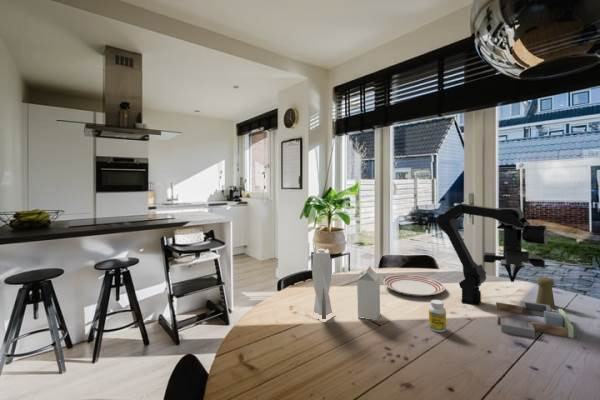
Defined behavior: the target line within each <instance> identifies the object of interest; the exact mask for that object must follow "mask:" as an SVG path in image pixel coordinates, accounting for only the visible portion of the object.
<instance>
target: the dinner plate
mask: <svg viewBox="0 0 600 400" xmlns="http://www.w3.org/2000/svg"><path fill="white" fill-rule="evenodd" d="M382 284H384V286H386V287H387V288H388V289H390V290H392V291H394V292H397V293H398V294H401V293H403V294H402V295H405V294H406V295H405V296H410V295H412V296H411V297H427V296H433V295H438V294H441V293H443V292H444V291H445V290H446V286H445V285H444V284H443V283H442V282H441V281H439V280H436V279H434V278H431V277H427V276H422V275H417V274H416V275H414V274H395V275H394V274H393V275H390V276H387V277H385V278H384V279H383V283H382Z"/></svg>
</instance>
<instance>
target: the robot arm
mask: <svg viewBox="0 0 600 400" xmlns="http://www.w3.org/2000/svg"><path fill="white" fill-rule="evenodd" d="M464 214H465V215H472V216H476V217H477V216H478V217H485V218H490V219H494V220H497V221H498V222H501V223H500V224H499V225H498V226H497V227H496V228H497V229H498V230H499V229H500V230H503V234H502V235H503V236H502V237H503V241H502V242H503V243H502V244H503V245H502V248H503V251H502V255H496V253H495V252H486V251H485V252H484V253H483V262H484V263H491V264H493V263H495V262H497V261H498V262H499V261H500V265H501V266H502V267H504V268H505V270H506V271H507V274H508V277H509V279H510V282H511V283H514V282H515V279H516V278H517V275H518V273H519V272H520V270H521V269H522V268H523V269H524V268H525V267H526V266H525V265H526V264H531V265H532V266H533V267H534V268H535V267H536V268H545V267H546V265H545V261H546V260H545V259H544V258H543V257H542V256H536V255H530V254H529V251H523V250H522V247H523V241H524V242H525V243H527V244H535V245H543V246H544V245H545V246H546V245H548V242H549V233H548V229H547V225H544V224H541V225H540V224H539V225H535V224H531V223H530V222H529V221H528V220H527V218H526V217H525V215H524V212H523V210H521V209H520V208H518V207H500V208H497V207H496V208H495V207H489V206H481V205H480V206H479V205H474V204H473V205H472V204H467V203H463V202H462V203H457V204H456V205H455V206H453V207H452V208H451V209H449V210H447V211H446V212H444V213H440V214H438V215H437V216H436V219H435V221H436V224H437V225H438V227H439V228H440V230H441V231H442V232H443V233H445V234H446V235H447V237H448V239H449V241H450V243H451V245H452V247H453V248H454V252H455V254H456V255H457V257H458V259H459V262H460V263H461V265H462V274H463V277H464V279H463V280H461V281H460V282H459V283H458V285H459V288H460V289H461V300H460V301H461V303H464V304H468V305H469V304H470V305H476V306H480V303H481V302H482V296H481V295H482V292H481V290H480V287H481V286H482V284H483V283H485V282H486V280H487V272H486V271H485V268H484V266H483V265H482V264H477V263H476V261H474V259H473V257H472V255H471V253H470V251H469V249H468V247H467V246H466V243H465V242H464V240H463V237H462V235H461V234H460V231H459V223H458V221H457V220H458V219H460V218H461V216H463V215H464ZM511 265H513V268H511V267H512V266H511Z"/></svg>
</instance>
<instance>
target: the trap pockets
mask: <svg viewBox="0 0 600 400" xmlns="http://www.w3.org/2000/svg"><path fill="white" fill-rule="evenodd" d="M519 304H520V305H519V306H522V309H523V310H522V314H523V315H531V316H535V317H536V316H537V317H542V318H544V311H548V310H552V308H550V306H549V305H546V304H539V303H536V302H530V301H522V300H520V303H519ZM523 306H525V308H526V309H524V307H523ZM524 310H525V312H523V311H524ZM553 311H554V310H552V311H551V312H553ZM524 313H526V314H524ZM500 317H501V325H500V330H501V333H506V334H510V335H512V334H513V335H517V336H522V337H527V338H533V339H534V338H536V337H535V334H536V331H535V330H534V327H533V324H532V323H528V328H527V326H519V325H514V324H510V323H509V324H508V323H506V320H505V319H504V317H505V316H500ZM502 317H503V318H502ZM527 321H528V322H529V320H527Z"/></svg>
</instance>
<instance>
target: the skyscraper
mask: <svg viewBox="0 0 600 400" xmlns="http://www.w3.org/2000/svg"><path fill="white" fill-rule="evenodd" d="M312 255H313V256H312V267H311V268H312V269H311V270H312V271H311V273H312V284H313V289H314V292H315V293H314V294H315V300H314V308H313V309H314V310H313V313H314V312H315V313H318V314H319V315H322V319H326V315H328V314H330V313H332V314H333V309H332V304H331V298H330V289H331V283H332V274H333V272H332V268H333V267H332V260H331V254H330V250H329V248H326V249H325V248H318V249H316V245H315V244H313V254H312Z"/></svg>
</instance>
